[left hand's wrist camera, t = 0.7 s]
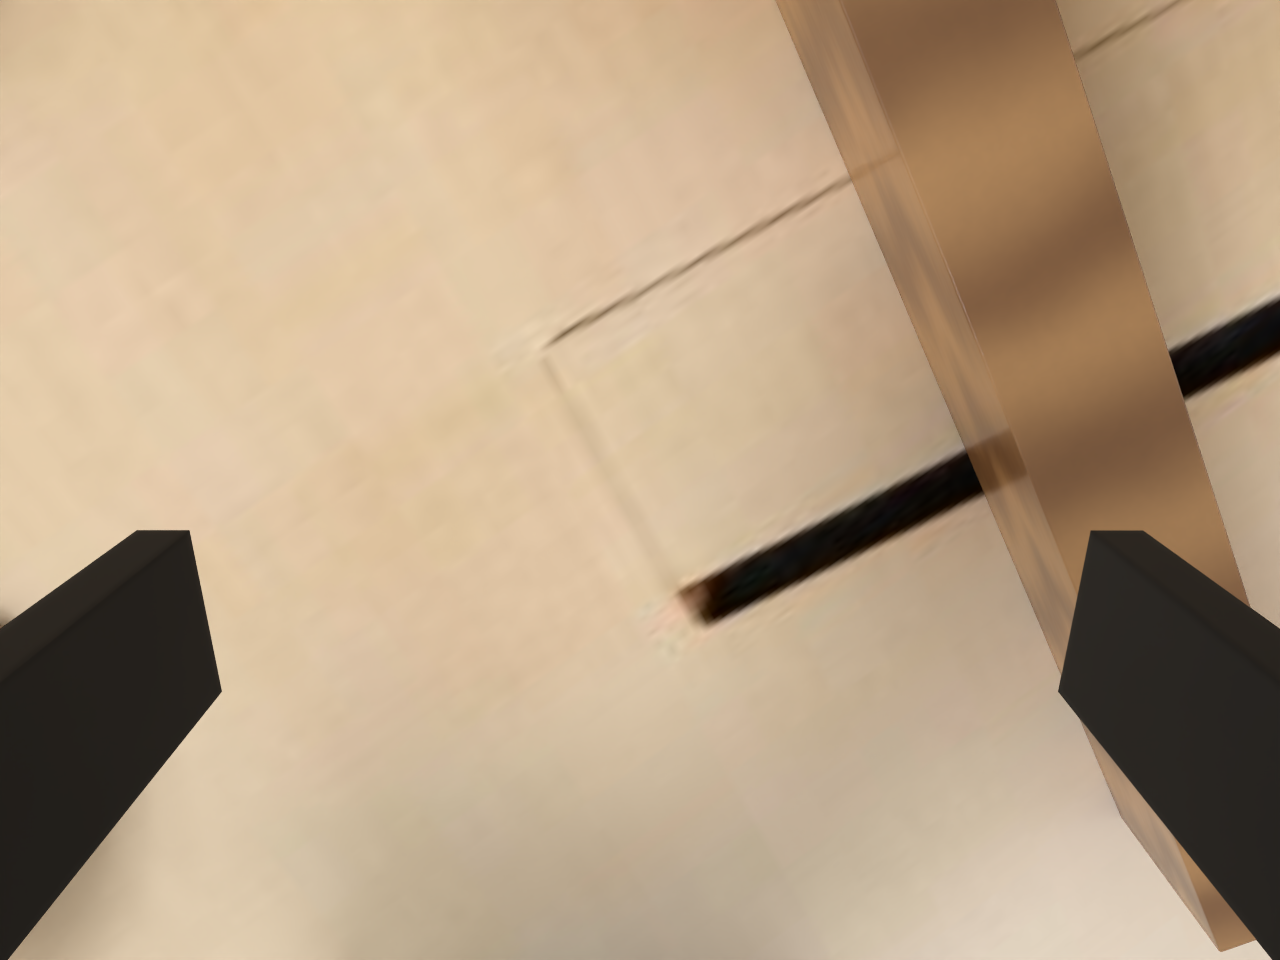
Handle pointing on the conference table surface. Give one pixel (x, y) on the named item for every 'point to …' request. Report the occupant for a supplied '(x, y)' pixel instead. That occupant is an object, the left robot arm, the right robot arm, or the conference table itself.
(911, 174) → the beam
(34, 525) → the conference table surface
